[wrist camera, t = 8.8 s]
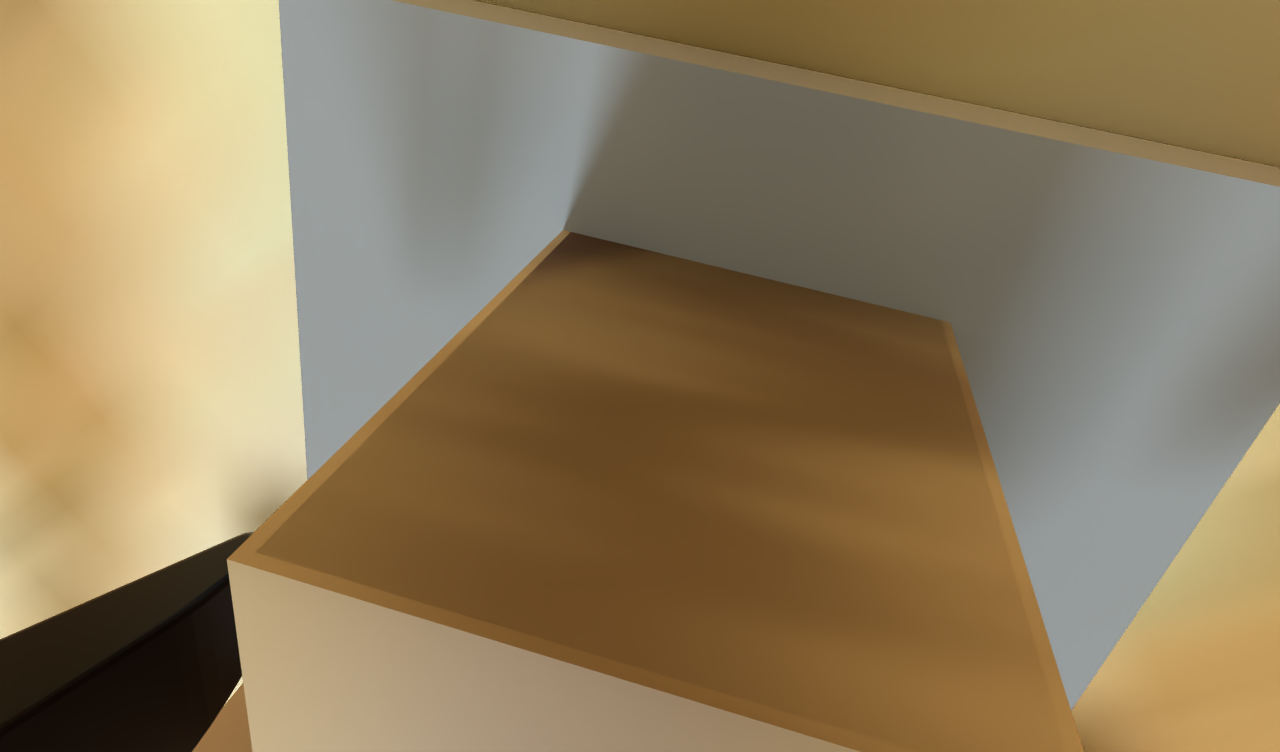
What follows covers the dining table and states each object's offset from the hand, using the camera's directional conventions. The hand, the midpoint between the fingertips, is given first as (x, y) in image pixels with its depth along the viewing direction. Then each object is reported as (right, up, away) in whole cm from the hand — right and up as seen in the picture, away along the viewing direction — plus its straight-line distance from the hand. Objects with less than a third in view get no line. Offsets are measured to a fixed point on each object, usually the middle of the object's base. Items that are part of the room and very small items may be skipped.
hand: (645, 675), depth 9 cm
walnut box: (+1, +1, +2) cm, 3 cm away
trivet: (+1, +2, +4) cm, 4 cm away
